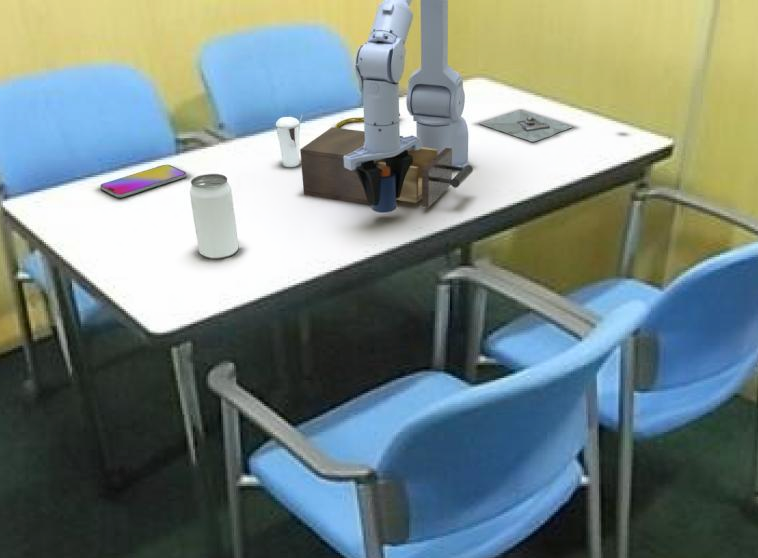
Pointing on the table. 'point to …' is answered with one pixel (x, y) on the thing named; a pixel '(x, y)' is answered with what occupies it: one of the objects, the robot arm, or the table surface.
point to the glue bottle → (386, 191)
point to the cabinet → (333, 166)
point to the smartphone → (143, 180)
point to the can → (214, 216)
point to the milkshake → (289, 140)
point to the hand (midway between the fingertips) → (384, 199)
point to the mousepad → (526, 125)
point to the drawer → (430, 175)
